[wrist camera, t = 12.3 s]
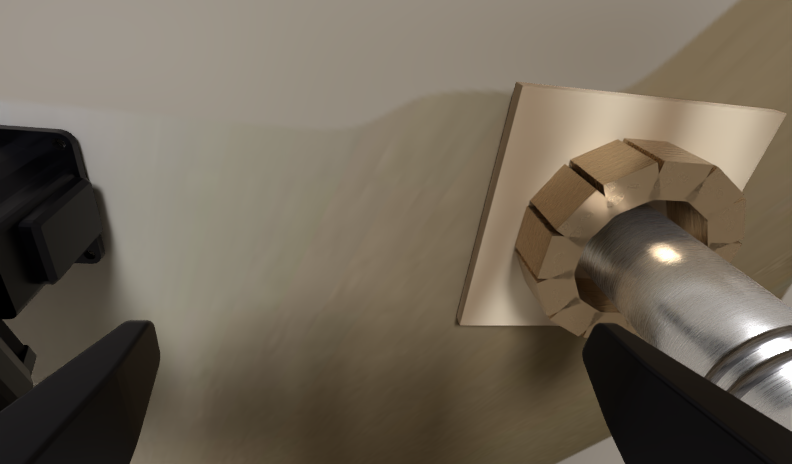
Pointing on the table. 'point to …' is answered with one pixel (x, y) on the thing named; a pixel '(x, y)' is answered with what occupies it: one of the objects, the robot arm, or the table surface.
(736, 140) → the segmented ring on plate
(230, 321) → the table surface
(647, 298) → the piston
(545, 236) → the ring collar
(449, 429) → the table surface
